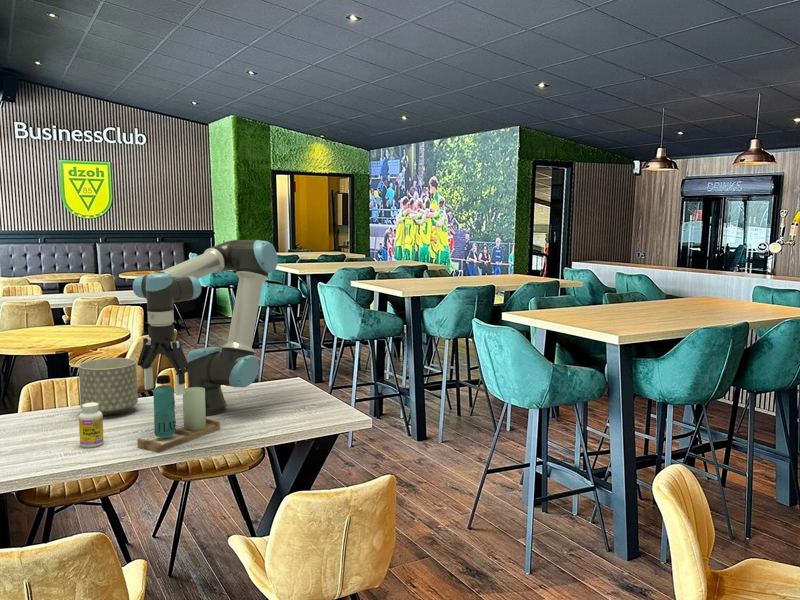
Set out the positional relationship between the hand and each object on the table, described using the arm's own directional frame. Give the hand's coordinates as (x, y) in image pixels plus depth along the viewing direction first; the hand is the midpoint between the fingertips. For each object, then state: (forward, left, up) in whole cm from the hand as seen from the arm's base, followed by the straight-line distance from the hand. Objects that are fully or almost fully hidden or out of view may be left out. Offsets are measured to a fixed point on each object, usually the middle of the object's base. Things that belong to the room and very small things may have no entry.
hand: (164, 391), depth 203 cm
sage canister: (0, +12, -15) cm, 19 cm away
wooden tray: (0, +6, -17) cm, 18 cm away
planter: (-44, +14, -17) cm, 49 cm away
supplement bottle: (-19, -12, -17) cm, 28 cm away
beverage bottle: (0, 0, -15) cm, 15 cm away
